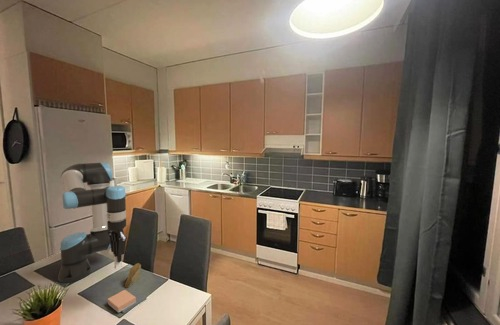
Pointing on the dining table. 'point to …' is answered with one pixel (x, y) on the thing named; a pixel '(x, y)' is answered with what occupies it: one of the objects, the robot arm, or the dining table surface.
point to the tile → (121, 300)
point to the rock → (133, 275)
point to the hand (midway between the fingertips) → (118, 267)
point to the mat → (139, 299)
